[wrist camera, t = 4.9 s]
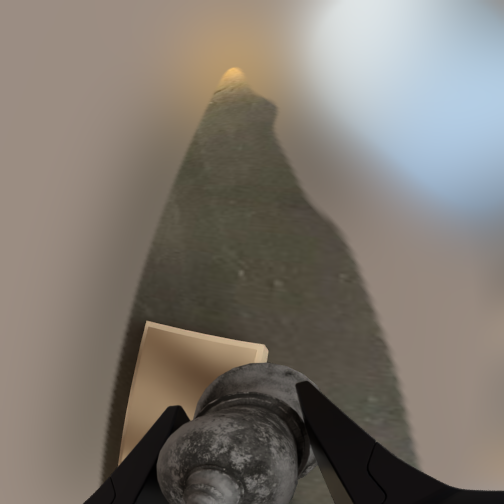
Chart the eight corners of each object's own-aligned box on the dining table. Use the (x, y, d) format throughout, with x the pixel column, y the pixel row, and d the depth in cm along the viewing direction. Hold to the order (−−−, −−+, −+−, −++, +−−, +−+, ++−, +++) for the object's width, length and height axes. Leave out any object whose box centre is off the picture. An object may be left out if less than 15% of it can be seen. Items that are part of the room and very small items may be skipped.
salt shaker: (345, 421, 13) (470, 497, 2) (259, 484, 12) (188, 632, 1) (276, 345, 15) (230, 241, 4) (193, 407, 14) (11, 420, 3)
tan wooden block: (223, 553, 13) (212, 577, 9) (134, 523, 15) (110, 538, 11) (268, 351, 21) (264, 344, 17) (168, 331, 23) (145, 319, 19)
